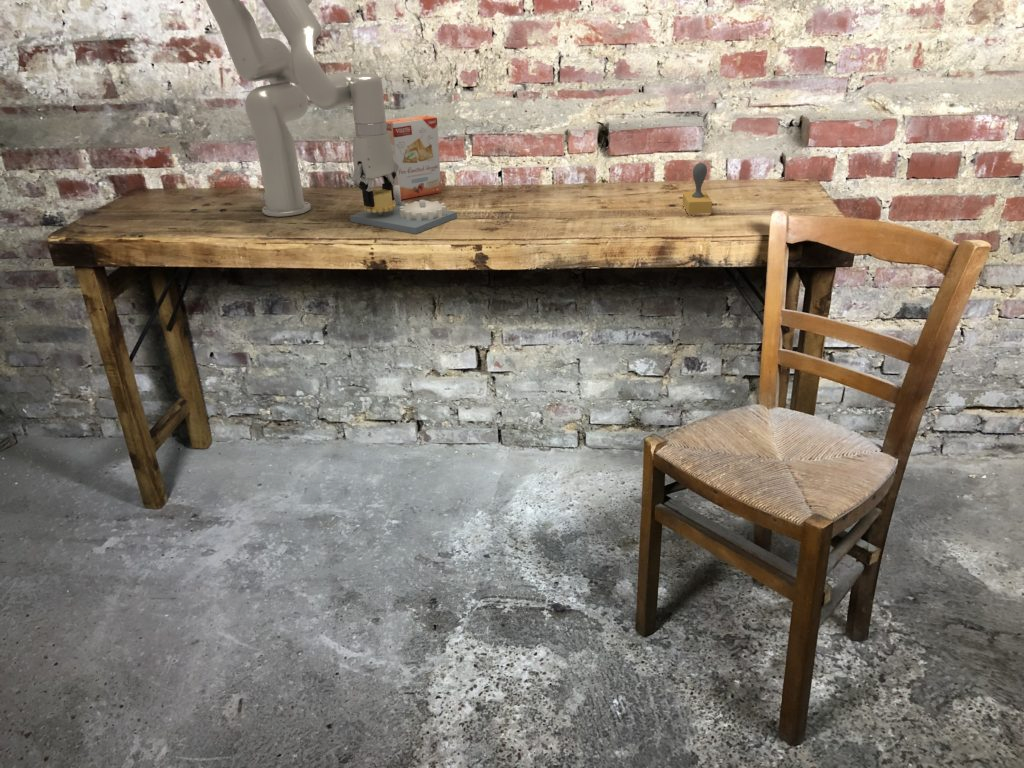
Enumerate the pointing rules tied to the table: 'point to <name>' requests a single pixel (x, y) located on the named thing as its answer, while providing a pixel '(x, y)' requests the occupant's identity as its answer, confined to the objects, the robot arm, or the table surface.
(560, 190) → the table surface
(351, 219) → the gear board
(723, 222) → the table surface
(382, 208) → the gear
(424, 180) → the cracker box
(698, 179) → the rubber stamp
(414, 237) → the table surface
